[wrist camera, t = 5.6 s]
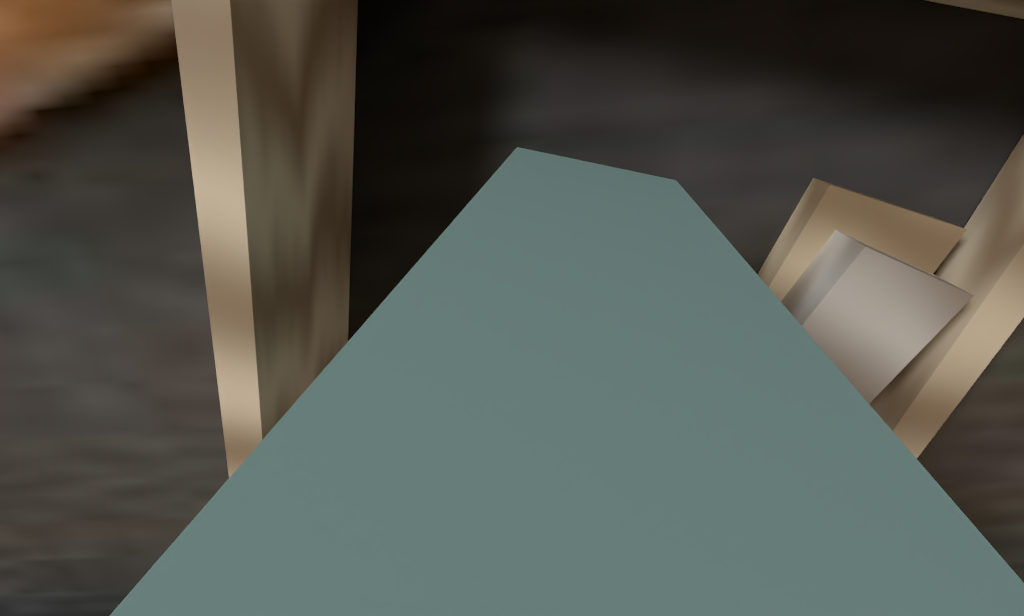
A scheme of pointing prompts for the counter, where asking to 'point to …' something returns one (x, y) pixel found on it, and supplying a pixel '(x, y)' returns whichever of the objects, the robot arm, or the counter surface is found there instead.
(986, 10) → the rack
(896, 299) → the offcut upper
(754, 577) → the teal rectangular block
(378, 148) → the counter surface
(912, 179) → the counter surface
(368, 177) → the counter surface
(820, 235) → the offcut lower
